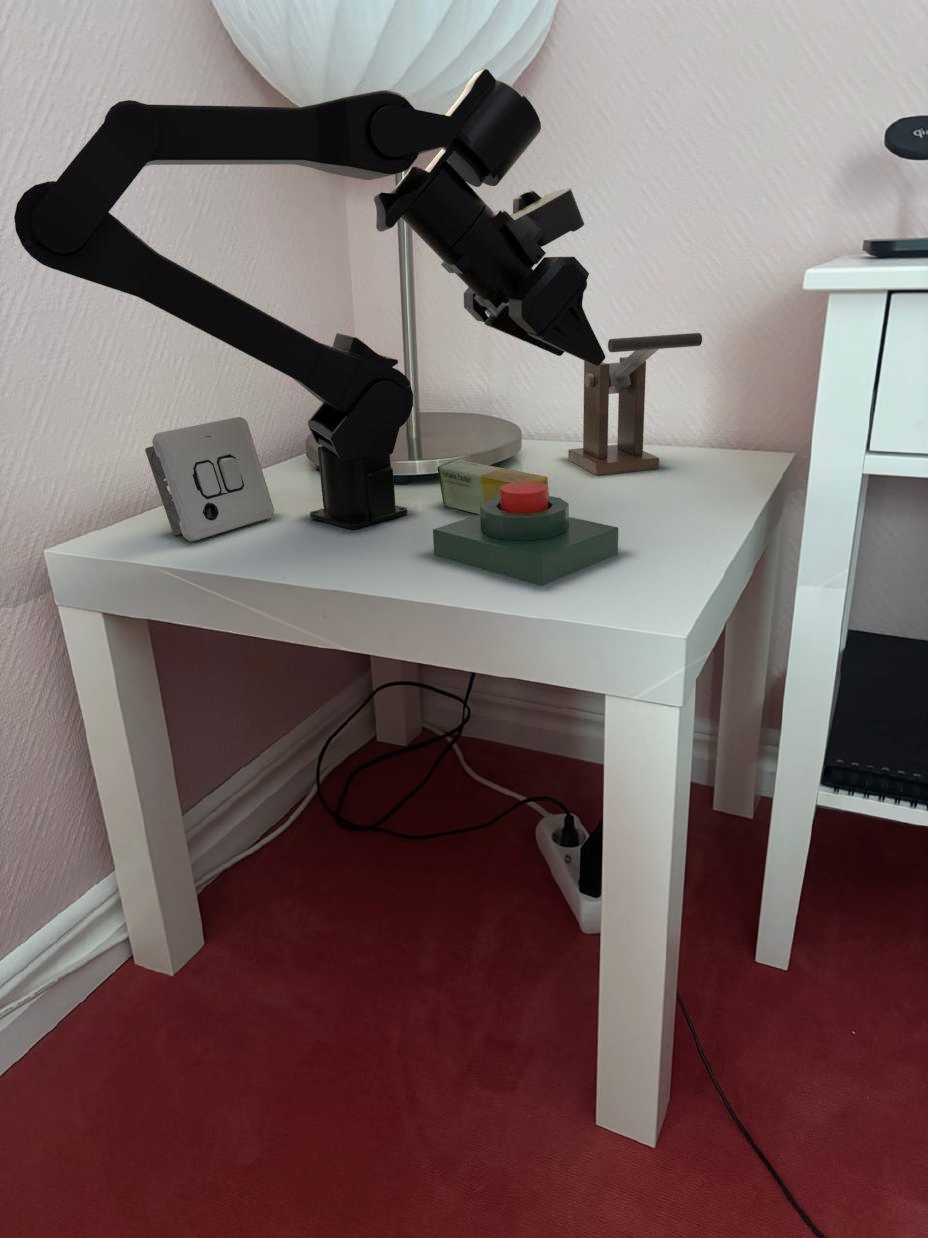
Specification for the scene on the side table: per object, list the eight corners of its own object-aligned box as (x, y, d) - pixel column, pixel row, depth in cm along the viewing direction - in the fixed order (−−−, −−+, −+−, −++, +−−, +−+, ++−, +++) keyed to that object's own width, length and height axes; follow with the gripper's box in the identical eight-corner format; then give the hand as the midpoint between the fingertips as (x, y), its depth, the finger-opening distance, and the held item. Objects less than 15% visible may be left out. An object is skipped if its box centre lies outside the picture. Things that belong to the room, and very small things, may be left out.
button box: (433, 556, 71) (430, 506, 69) (511, 529, 76) (510, 482, 75) (541, 586, 63) (541, 531, 62) (618, 554, 69) (619, 503, 68)
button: (490, 511, 68) (490, 488, 68) (522, 501, 71) (521, 479, 70) (526, 519, 66) (526, 496, 65) (558, 508, 68) (558, 486, 68)
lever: (704, 349, 84) (700, 324, 85) (614, 356, 82) (610, 330, 82) (650, 390, 96) (646, 368, 96) (570, 397, 94) (567, 374, 94)
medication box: (440, 507, 84) (434, 465, 82) (462, 498, 85) (457, 457, 84) (532, 529, 75) (527, 483, 74) (554, 519, 77) (550, 474, 75)
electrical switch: (191, 545, 76) (166, 433, 73) (156, 541, 79) (132, 434, 76) (277, 518, 82) (258, 415, 80) (242, 516, 86) (223, 416, 83)
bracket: (659, 468, 94) (663, 362, 90) (596, 475, 93) (598, 366, 89) (626, 454, 102) (629, 354, 97) (568, 460, 100) (568, 358, 96)
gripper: (565, 139, 67) (691, 291, 74) (492, 163, 84) (600, 285, 91) (466, 257, 68) (599, 396, 75) (414, 258, 85) (526, 371, 92)
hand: (581, 356), depth 83 cm, fingers open, 9 cm apart
